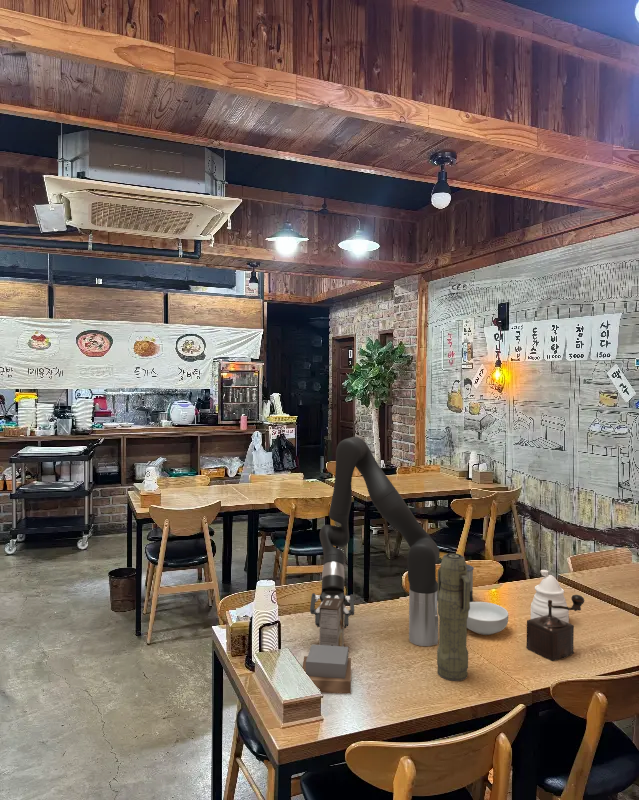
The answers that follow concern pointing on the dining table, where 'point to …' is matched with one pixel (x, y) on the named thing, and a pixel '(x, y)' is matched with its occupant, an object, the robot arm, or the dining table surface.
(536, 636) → the manual coffee grinder
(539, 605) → the honey pot
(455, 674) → the thermos
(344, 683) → the walnut base block
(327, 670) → the grey square block
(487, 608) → the cereal bowl
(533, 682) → the dining table surface
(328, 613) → the coffee box
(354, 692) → the dining table surface
